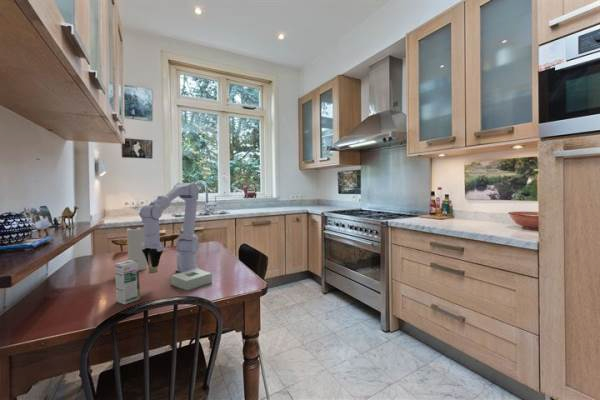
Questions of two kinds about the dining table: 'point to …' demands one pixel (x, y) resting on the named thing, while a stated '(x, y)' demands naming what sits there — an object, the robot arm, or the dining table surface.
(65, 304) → the dining table surface
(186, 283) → the socket block
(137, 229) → the tall grey box
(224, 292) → the dining table surface
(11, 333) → the dining table surface
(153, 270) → the dowel
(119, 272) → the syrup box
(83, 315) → the dining table surface
